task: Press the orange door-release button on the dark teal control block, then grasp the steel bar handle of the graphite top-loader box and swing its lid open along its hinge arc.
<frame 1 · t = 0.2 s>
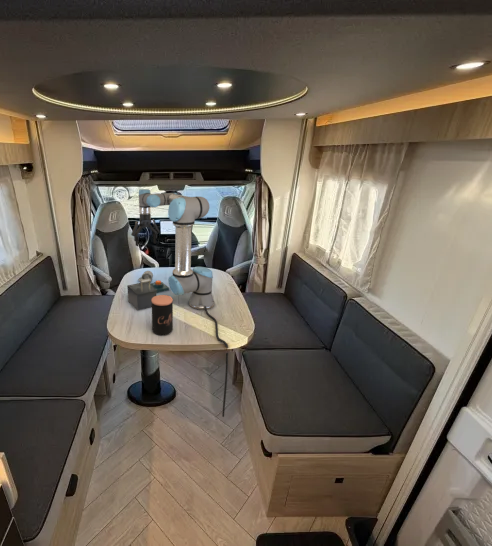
hand: (146, 244, 213), 28 cm above the table, tool pointing down, fingers open, 13 cm apart
release button: (158, 282, 209), point 5 cm above the table, slide at 0.2 cm
washer lid: (141, 282, 185), point 14 cm above the table, hinge at 0.0°
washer: (142, 303, 190), on the table
coffee jar: (162, 331, 161), on the table
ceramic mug: (145, 281, 223), on the table
control block: (158, 288, 211), on the table
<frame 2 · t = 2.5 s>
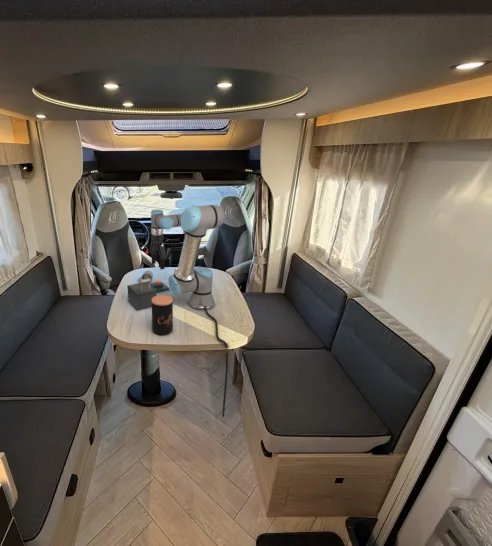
hand: (158, 266, 205), 16 cm above the table, tool pointing down, fingers open, 12 cm apart
nothing on the table moved.
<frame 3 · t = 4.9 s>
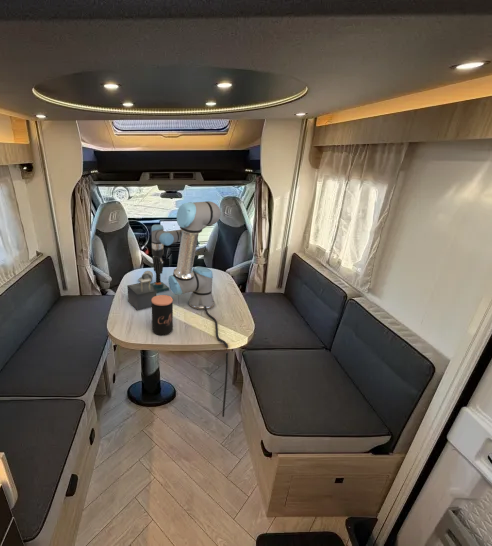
hand: (158, 282, 209), 5 cm above the table, tool pointing down, fingers closed
release button: (158, 283, 210), point 4 cm above the table, slide at -0.8 cm, touching gripper
everything else where it was.
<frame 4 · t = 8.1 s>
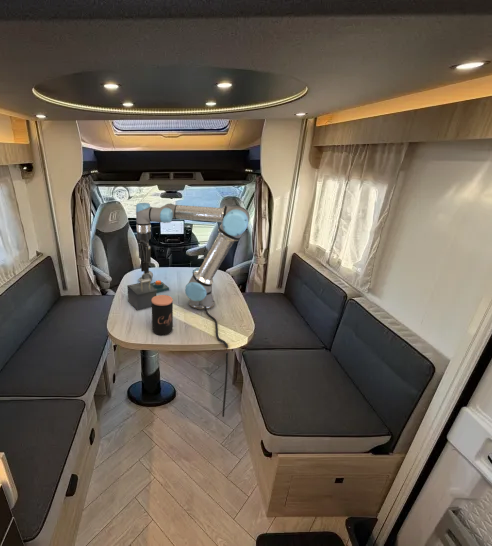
hand: (145, 271, 177), 23 cm above the table, tool pointing down, fingers open, 3 cm apart
release button: (158, 282, 209), point 5 cm above the table, slide at 0.1 cm
everything else where it was.
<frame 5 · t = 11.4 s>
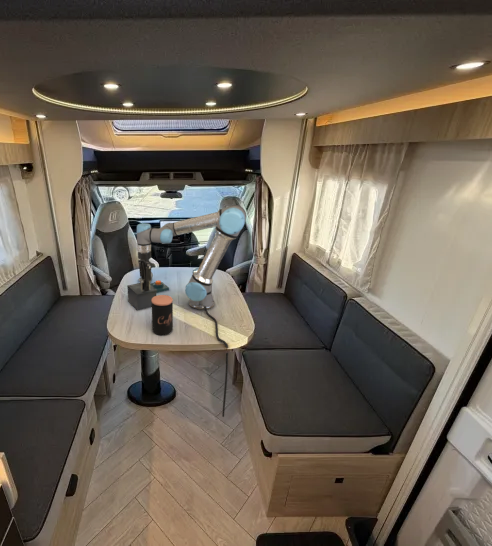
hand: (145, 289, 181), 11 cm above the table, tool pointing down, fingers closed on washer lid, 2 cm apart
washer lid: (141, 282, 185), point 14 cm above the table, hinge at 0.2°, touching gripper
everything else where it was.
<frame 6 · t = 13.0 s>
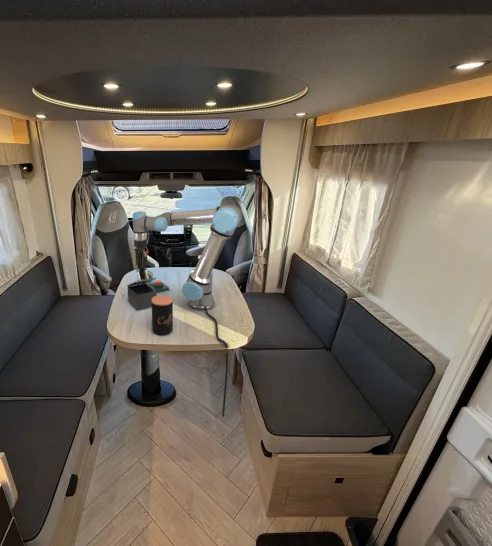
hand: (141, 278, 183), 17 cm above the table, tool pointing down, fingers closed on washer lid, 2 cm apart
washer lid: (139, 276, 186), point 17 cm above the table, hinge at 28.7°, touching gripper
everything else where it was.
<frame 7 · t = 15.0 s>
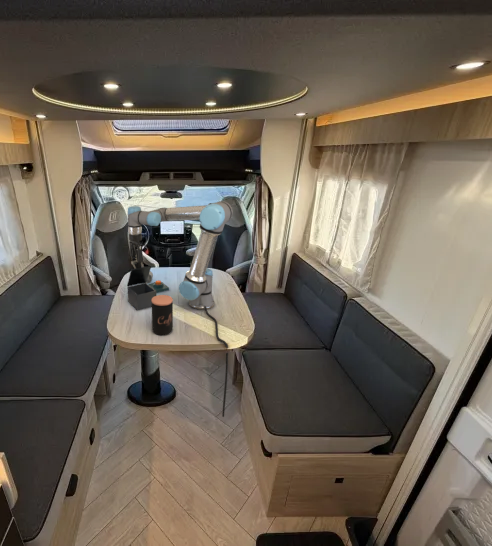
hand: (136, 270, 188), 20 cm above the table, tool pointing down, fingers open, 6 cm apart
washer lid: (136, 271, 188), point 19 cm above the table, hinge at 58.3°
everything else where it was.
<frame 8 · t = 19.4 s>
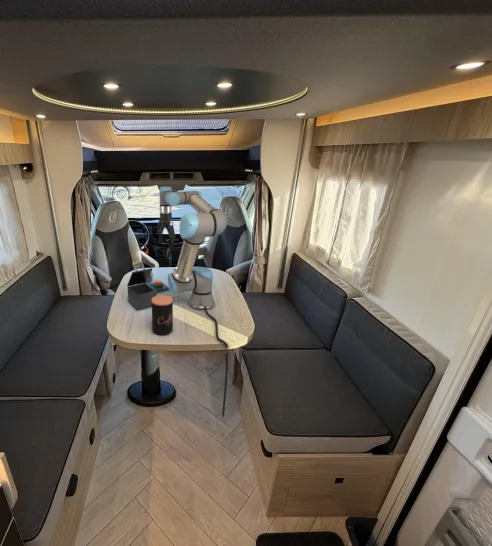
hand: (166, 245, 199), 31 cm above the table, tool pointing down, fingers open, 13 cm apart
washer lid: (137, 272, 188), point 19 cm above the table, hinge at 51.2°
everything else where it was.
at the end: release button pushed in 1.0 cm at the most during the clip, back to where it started at the end; release button slide at 0.1 cm; washer lid at +51° (first picture: +0°) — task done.
